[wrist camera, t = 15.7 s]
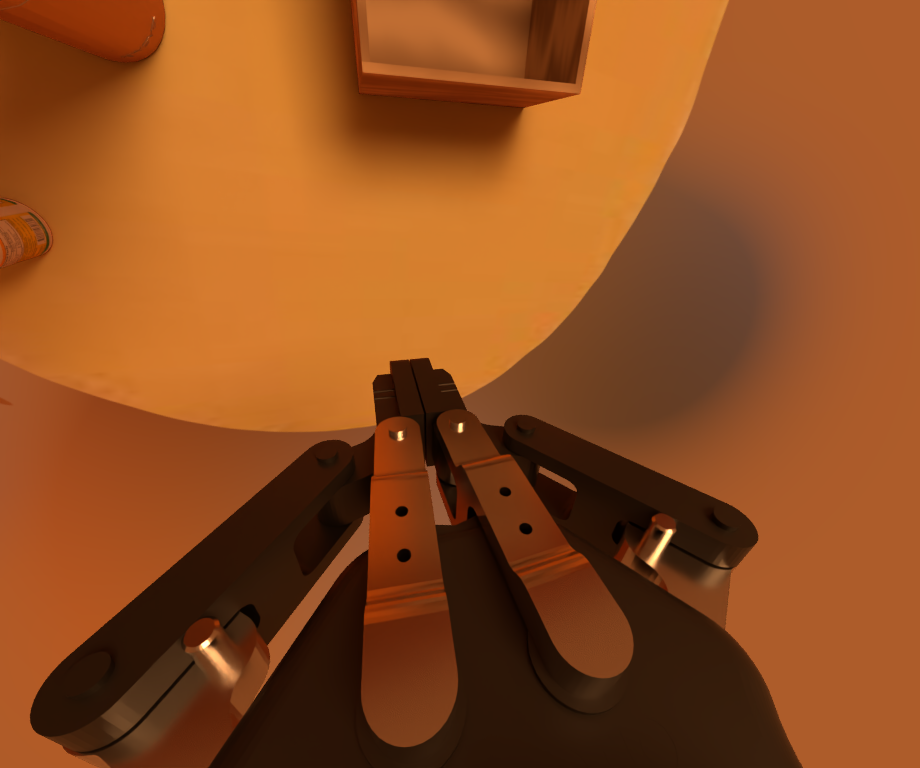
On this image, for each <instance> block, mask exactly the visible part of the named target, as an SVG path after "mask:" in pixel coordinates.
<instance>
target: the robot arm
mask: <svg viewBox="0 0 920 768" xmlns="http://www.w3.org/2000/svg"><path fill="white" fill-rule="evenodd" d="M0 19H1V20H4V21H6V22H9V23H12V24H14V25H17V26H20V27H22V28H25V29H28V30H30V31H33V32H35V33H38V34H41V35H43V36H46V37H49V38H51V39H54V40H57V41H59V42H62V43H65V44H67V45H70V46H72V47H75V48H78V49H80V50H83V51H86V52H88V53H91V54H94V55H97V56H99V57H102V58H105V59H108V60H111V61H117V62H124V63H125V62H137V61H139V60H142V59H144V58H147V57H148V56H149V55H151V54H152V53H153V52H154V51H155V50H156V49H157V47H158V45H159V44H160V42H161V40H162V36H163V32H164V28H165V11H164V5H163V0H0ZM373 393H374V403H375V413H376V423H377V427H376V430H375V433H374V434H373V436H371V437H370V438H369V439H368V440H366V441H365V442H363V443H361V444H358V445H356V446H353V447H351V446H350V445H349V444H347V443H346V442H343V441H340V440H327V441H323V442H320V443H318V444H315V445H314V446H312V447H311V448H309V449H308V450H307V451H306V452H304V453H303V454H302V455H301V456H300V457H299V458H298V459H296V460H295V461H294V462H293V463H292V464H291V465H290V466H288V467H287V468H286V469H285V470H284V471H282V472H281V473H280V474H279V475H278V476H277V477H275V478H274V479H273V480H272V481H271V482H270V483H268V484H267V485H266V486H265V487H264V488H263V489H262V490H260V491H259V492H258V493H257V494H256V495H255V496H253V497H252V498H251V499H250V500H249V501H248V502H246V503H245V504H244V505H243V506H242V507H241V508H239V509H238V510H237V511H236V512H235V513H234V514H233V515H231V516H230V517H229V518H228V519H227V520H226V521H224V522H223V523H222V524H221V525H220V526H219V527H218V528H216V529H215V530H214V531H213V532H212V533H210V534H209V535H208V536H207V537H206V538H205V539H203V540H202V541H201V542H200V543H199V544H198V545H197V546H195V547H194V548H193V549H192V550H191V551H190V552H188V553H187V554H186V555H185V556H184V557H183V558H181V559H180V560H179V561H178V562H177V563H176V564H174V565H173V566H172V567H171V568H170V569H169V570H168V571H166V572H165V573H164V574H163V575H162V576H161V577H159V578H158V579H157V580H156V581H155V582H154V583H152V584H151V585H150V586H149V587H148V588H147V589H145V590H144V591H143V592H142V593H141V594H140V595H139V596H138V597H136V598H135V599H134V600H133V601H132V602H130V603H129V604H128V605H127V606H126V607H125V608H123V609H122V610H121V611H120V612H119V613H118V614H117V615H115V616H114V617H113V618H112V619H111V620H109V621H108V622H107V623H106V624H105V625H104V626H103V627H101V628H100V629H99V630H98V631H97V632H96V633H94V634H93V635H92V636H91V637H90V638H89V639H87V640H86V641H85V642H84V643H83V644H82V645H80V646H79V647H78V648H77V649H76V650H75V651H74V652H72V653H71V654H70V655H69V656H68V657H67V658H66V659H64V660H63V661H62V662H61V663H60V664H59V665H58V666H57V667H56V669H55V670H54V671H53V672H52V673H51V674H50V676H49V677H48V678H47V679H46V680H45V682H44V683H43V685H42V686H41V688H40V690H39V691H38V693H37V695H36V697H35V699H34V702H33V705H32V708H31V713H30V722H31V725H32V728H33V730H34V731H35V732H36V733H38V734H40V735H42V736H44V737H46V738H48V739H50V740H52V741H54V742H56V743H58V744H60V745H62V746H63V748H64V750H65V751H66V752H67V753H69V754H71V755H73V756H75V757H78V758H80V759H82V760H84V761H86V762H88V763H90V764H92V765H94V766H97V767H99V768H803V767H802V765H801V763H800V762H799V760H798V758H797V756H796V755H795V752H794V750H793V748H792V746H791V744H790V742H789V740H788V738H787V736H786V733H785V731H784V729H783V727H782V724H781V722H780V719H779V717H778V714H777V711H776V708H775V705H774V703H773V700H772V697H771V695H770V692H769V690H768V688H767V686H766V683H765V682H764V679H763V678H762V675H761V674H760V672H759V671H758V669H757V667H756V666H755V664H754V663H753V661H752V660H751V659H750V657H749V656H748V655H747V653H746V652H745V651H744V649H743V648H742V647H741V646H740V645H739V644H738V643H737V642H736V640H735V639H734V638H733V637H732V636H731V635H730V634H728V632H726V631H725V625H726V615H727V605H728V595H729V586H730V575H731V573H732V571H733V570H734V569H735V567H737V565H738V564H739V563H740V562H741V561H742V560H743V558H744V557H745V556H746V555H747V554H748V552H749V551H750V550H751V549H752V548H753V546H754V545H755V544H756V543H757V541H758V533H757V530H756V528H755V526H754V525H753V523H752V522H751V521H750V520H749V519H748V518H747V517H746V516H745V515H744V514H743V513H742V512H740V511H739V510H738V509H736V508H734V507H733V506H731V505H729V504H727V503H724V502H722V501H720V500H718V499H716V498H713V497H711V496H709V495H707V494H704V493H702V492H700V491H698V490H696V489H693V488H691V487H689V486H687V485H684V484H682V483H680V482H678V481H675V480H673V479H671V478H669V477H666V476H664V475H662V474H660V473H657V472H655V471H653V470H651V469H649V468H646V467H644V466H642V465H640V464H637V463H635V462H633V461H631V460H628V459H626V458H624V457H622V456H620V455H617V454H615V453H613V452H611V451H608V450H606V449H604V448H602V447H599V446H597V445H595V444H593V443H590V442H588V441H586V440H583V439H581V438H579V437H577V436H575V435H573V434H570V433H568V432H566V431H564V430H561V429H559V428H557V427H554V426H553V425H550V424H548V423H546V422H543V421H541V420H539V419H537V418H534V417H532V416H527V415H516V416H512V417H510V418H509V419H507V421H506V422H505V424H504V427H502V426H491V425H486V424H482V423H480V421H479V420H478V418H477V417H476V416H475V415H474V414H473V413H471V412H469V411H467V409H466V407H465V405H464V403H463V401H462V398H461V396H460V394H459V392H458V390H457V387H456V385H455V384H454V381H453V379H452V376H451V375H450V374H449V373H448V372H446V371H445V370H444V369H435V370H433V368H432V366H431V363H430V360H429V358H420V359H410V361H409V360H398V361H390V374H384V375H377V377H376V378H375V380H374V382H373ZM425 460H426V464H427V466H433V465H435V468H436V483H437V486H438V489H439V492H440V495H441V497H442V500H443V503H444V506H445V508H446V511H447V514H448V517H449V519H450V522H451V525H435V521H434V513H433V506H432V499H431V492H430V485H429V479H428V472H427V470H426V469H425ZM540 466H542V467H543V468H545V469H547V470H549V471H551V472H553V473H555V474H557V475H559V476H561V477H563V478H565V479H567V480H568V481H570V482H571V483H572V484H573V485H574V486H575V487H576V489H577V492H575V491H573V490H571V489H569V488H567V487H565V486H563V485H561V484H560V483H558V482H556V481H554V480H552V479H550V478H548V477H546V476H545V475H543V474H541V473H539V468H540ZM369 513H370V524H369V549H368V550H367V551H365V552H364V553H362V554H361V555H360V556H358V557H357V558H356V559H355V560H354V561H352V562H351V563H350V564H349V566H347V567H346V568H345V570H344V571H343V572H342V573H341V574H340V576H339V577H338V578H337V580H336V581H335V582H334V584H333V585H332V587H331V588H330V590H329V591H328V593H327V594H326V596H325V597H324V599H323V600H322V601H321V603H320V604H319V606H318V607H317V609H316V610H315V612H314V613H313V615H312V616H311V618H310V619H309V621H308V622H307V623H306V625H305V626H304V628H303V630H302V631H301V632H300V634H299V635H298V637H297V638H296V640H295V641H294V643H293V644H292V645H291V647H290V649H289V650H288V651H287V653H286V654H285V656H284V657H283V659H282V660H281V662H280V663H279V664H278V666H277V667H276V669H275V671H274V672H273V673H272V675H271V676H270V678H269V679H268V681H267V682H266V684H265V685H264V686H263V688H262V690H261V691H260V693H259V694H258V695H257V697H256V698H255V695H256V694H257V692H258V690H259V689H260V687H261V685H262V684H263V682H264V680H265V677H266V675H267V672H268V669H269V664H270V653H269V649H268V647H267V645H268V644H269V642H270V641H271V640H272V639H273V637H274V636H275V635H276V634H277V632H278V631H279V630H280V628H281V627H282V626H283V624H284V623H285V622H286V620H287V619H288V618H289V616H290V615H291V614H292V613H293V611H294V610H295V609H296V608H297V606H298V605H299V604H300V603H301V601H302V600H303V599H304V597H305V596H306V595H307V593H308V592H309V591H310V590H311V588H312V587H313V586H314V584H315V583H316V582H317V580H318V579H319V578H320V577H321V575H322V574H323V573H324V571H325V570H326V569H327V567H328V566H329V565H330V564H331V562H332V561H333V560H334V558H335V557H336V556H337V555H338V553H339V552H340V551H341V549H342V548H343V547H344V545H345V544H346V543H347V542H348V540H349V539H350V538H351V536H352V535H353V534H354V532H355V531H356V530H357V529H358V527H359V526H360V525H361V523H362V521H363V517H364V516H365V515H367V514H369ZM254 698H255V700H254ZM253 700H254V701H253ZM252 702H253V703H252Z"/></svg>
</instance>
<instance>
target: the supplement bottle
mask: <svg viewBox="0 0 920 768" xmlns="http://www.w3.org/2000/svg"><path fill="white" fill-rule="evenodd" d="M52 241H53V239H52V233H51V230H50V228H49V227H48V225H47V223H46V222H45V221H44V220H43V219H42V218H41V217H40V216H39V215H38V214H37V213H36V212H35V211H33V210H32V209H30V208H29V207H27V206H25V205H23V204H21V203H19V202H17V201H14V200H10V199H5V198H0V268H3V267H6V266H9V265H12V264H15V263H18V262H21V261H24V260H27V259H30V258H33V257H36V256H39V255H42V254H44V253H46V252H47V251H48V250H49V249H50V247H51V245H52Z"/></svg>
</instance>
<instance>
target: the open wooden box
mask: <svg viewBox="0 0 920 768" xmlns="http://www.w3.org/2000/svg"><path fill="white" fill-rule="evenodd" d="M596 2H597V0H351V10H352V21H353V32H354V43H355V54H356V65H357V76H358V88H359V94H368V95H380V96H391V97H403V98H415V99H427V100H438V101H450V102H462V103H474V104H485V105H497V106H509V107H521V108H525V107H529V106H533V105H537V104H541V103H545V102H549V101H553V100H557V99H562V98H566V97H570V96H574V95H578V94H580V93H581V87H582V81H583V76H584V70H585V64H586V59H587V53H588V47H589V41H590V36H591V30H592V24H593V19H594V13H595V7H596Z"/></svg>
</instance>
